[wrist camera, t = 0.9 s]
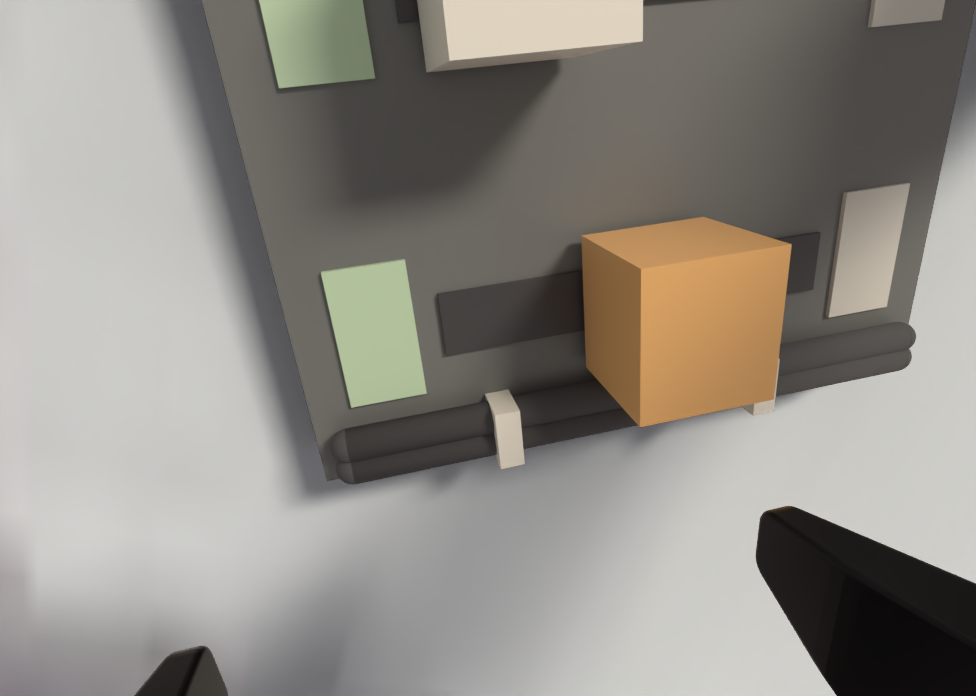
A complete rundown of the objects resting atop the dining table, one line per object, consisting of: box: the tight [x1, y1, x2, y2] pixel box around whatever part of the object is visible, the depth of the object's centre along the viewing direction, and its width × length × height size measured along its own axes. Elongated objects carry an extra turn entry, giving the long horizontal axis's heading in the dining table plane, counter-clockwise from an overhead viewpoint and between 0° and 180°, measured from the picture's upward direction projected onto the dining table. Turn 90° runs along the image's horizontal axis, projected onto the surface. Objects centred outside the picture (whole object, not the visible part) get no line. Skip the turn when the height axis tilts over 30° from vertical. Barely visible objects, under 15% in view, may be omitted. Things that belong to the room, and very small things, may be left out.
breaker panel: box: [202, 0, 976, 481], centre depth 18 cm, size 22×18×2 cm
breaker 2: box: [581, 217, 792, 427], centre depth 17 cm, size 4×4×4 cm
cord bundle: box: [330, 322, 916, 484], centre depth 20 cm, size 21×2×2 cm, turn 96°
